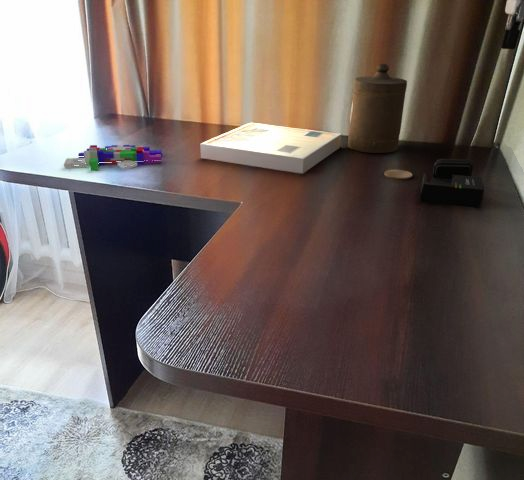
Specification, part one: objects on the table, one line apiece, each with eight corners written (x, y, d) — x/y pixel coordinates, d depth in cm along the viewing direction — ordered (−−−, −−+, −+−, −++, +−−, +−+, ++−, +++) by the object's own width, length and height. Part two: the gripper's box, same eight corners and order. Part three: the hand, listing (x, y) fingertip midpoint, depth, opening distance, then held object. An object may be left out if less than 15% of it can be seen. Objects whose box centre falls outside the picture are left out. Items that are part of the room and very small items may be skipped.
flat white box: (250, 122, 161) (341, 133, 150) (250, 135, 163) (340, 147, 152) (200, 143, 138) (303, 158, 128) (200, 158, 140) (302, 173, 130)
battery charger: (477, 194, 119) (481, 176, 116) (479, 208, 111) (484, 189, 109) (420, 188, 121) (423, 171, 119) (419, 201, 114) (422, 184, 112)
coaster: (411, 172, 132) (411, 170, 132) (412, 180, 127) (413, 178, 127) (384, 170, 133) (384, 168, 133) (384, 178, 128) (384, 176, 128)
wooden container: (373, 139, 161) (383, 59, 148) (407, 149, 151) (422, 65, 138) (337, 144, 154) (345, 62, 142) (371, 156, 144) (382, 68, 131)
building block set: (161, 147, 149) (159, 131, 146) (162, 168, 132) (160, 150, 130) (73, 150, 145) (69, 134, 142) (63, 171, 129) (59, 153, 126)
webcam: (470, 181, 126) (475, 158, 123) (467, 189, 122) (473, 164, 118) (432, 176, 129) (437, 153, 126) (428, 183, 125) (433, 159, 121)
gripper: (557, -46, 110) (530, 52, 120) (540, -43, 121) (517, 46, 132) (521, -46, 111) (497, 51, 121) (507, -43, 123) (486, 45, 133)
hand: (507, 48), depth 127 cm, fingers closed
